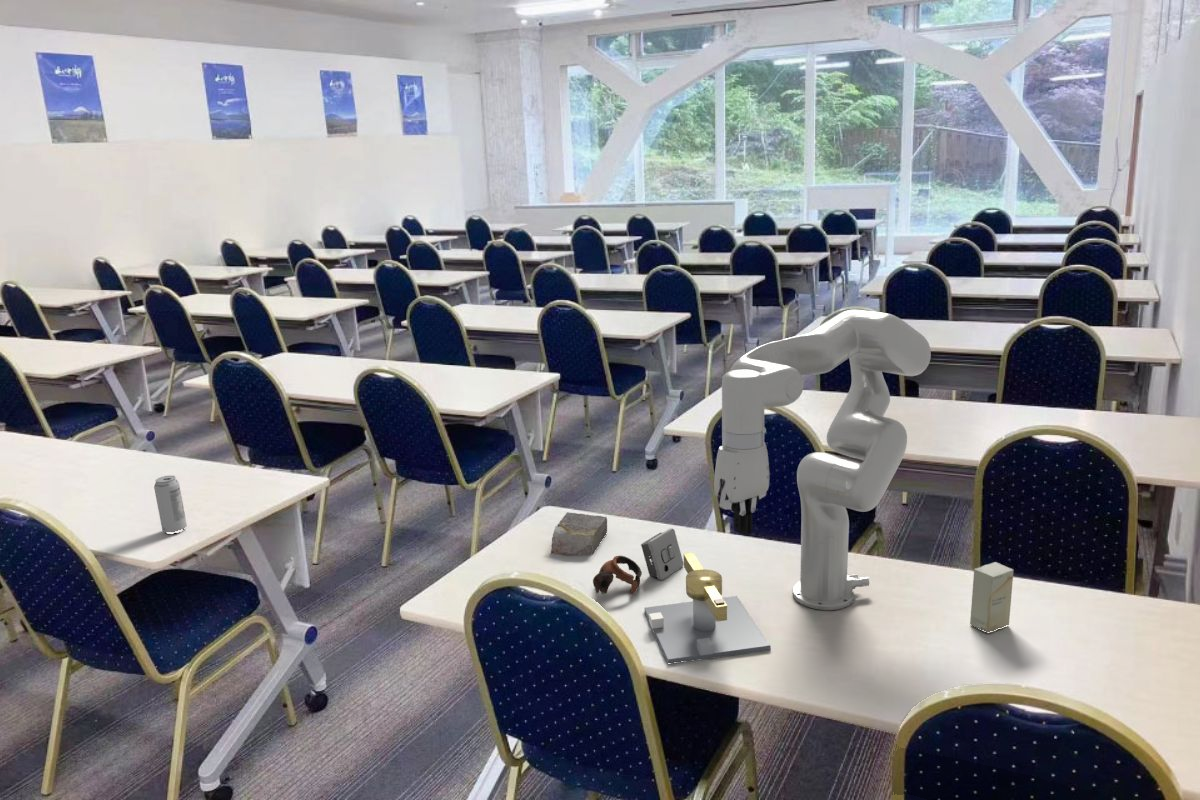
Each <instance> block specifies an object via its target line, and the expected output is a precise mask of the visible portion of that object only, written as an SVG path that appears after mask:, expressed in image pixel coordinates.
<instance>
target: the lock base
mask: <svg viewBox="0 0 1200 800" xmlns="http://www.w3.org/2000/svg"><path fill="white" fill-rule="evenodd" d="M722 599H723V600H724V602H725V603H726V605H727V620H725V621H718V622H717V621H716V620H715V618H714V616H713V615H712V613H711V611H710V610H709V608H708V606H707V605H706V603H705V601H698V600H694V599H692V601H686V602H680V603H679V602H678V603H670V604H662V605H655V606H654V605H653V606H648V607H647V606H646V607H644V614H645V616H646V618H647V620H648V623H649V625H650V627H651V629H652V632H653V631H654V632H653V634H654V636H655V638H656V641H657V640H658V641H657V642H659V643H658V645H659V647H660V650H661V651H663V652H662V654H663V653H664V654H663V656H664V655H665V656H664V658H665V661H666V660H667V661H666V663H667V662H668V663H673V664H675V663H674V662H680V663H682V662H681V661H687V662H693V661H692V660H694V661H700V660H699V659H702V660H707V659H715V658H716V659H717V658H722V657H729V656H731V657H732V656H736V655H737V656H739V655H744V654H752V653H759V652H766V650H767V651H771V649H772V647H771V644H770V642H769V641H768V639H767V637H766V636H764V633H763V632H762V631H761V629H760V628H759V626H758V625H757V623H756V622H755V620H754V619H753V617H752V616H751V614H750V613H749V612H748V610H747V608H746V607H745V606H744V604H743V603H742V601H741V600H740V598H739V597H738V595H733V596H725V597H722ZM714 657H715V658H714ZM668 663H667V664H668Z"/></svg>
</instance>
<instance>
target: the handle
mask: <svg viewBox="0 0 1200 800" xmlns="http://www.w3.org/2000/svg"><path fill="white" fill-rule="evenodd" d="M683 568H684V570H685V571H686V573H687V574H686V576H685V590H686V591H685V593H686V595H687V597H688V598H690V599H691V600H693V599H694V600H698V601H705V603H706V605H707V606H708V608H709V610H710V611H711V613H712V615H713V616H714V618H715V620H716V621H717V622H718V621H725V620H727V605H726V603H725V602H724V600H723V599H722V598H723V597H722V595H723V577H722V574H720V573H719V571H718V572H717V571H716V570H712V569H705V568H704V567H703V566H702V564H701V563H700V561H699V560H698V558H697V557H696V555H695V553H694V552H689V553H683Z"/></svg>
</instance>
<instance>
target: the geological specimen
mask: <svg viewBox="0 0 1200 800" xmlns="http://www.w3.org/2000/svg"><path fill="white" fill-rule="evenodd" d="M606 533H607V534H608V518H607V516H601V515H592V514H585V513H577V512H566V513H565V514H564V516H563V517H562V518H561V520H559V522H558V523H557V525H555V527H554V530H553V533H552V536H551V537H552V538H551V546H550V548H551V549H550V554H553V555H558V556H560V555H563V556H566V557H568V556H576V557H577V556H583V555H584V556H586V555H588V556H589V554H590V555H594V554H595V552H596V551H597V549H598V548H599V546H600V545H601V543H602V542H603V540H604V539H605V537H606V536H607V534H606ZM605 535H606V536H605ZM604 536H605V537H604ZM603 538H604V539H603ZM602 539H603V540H602ZM601 541H602V542H601ZM600 542H601V543H600ZM599 544H600V545H599ZM597 547H598V548H597ZM595 550H596V551H595Z"/></svg>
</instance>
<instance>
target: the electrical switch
mask: <svg viewBox="0 0 1200 800" xmlns="http://www.w3.org/2000/svg"><path fill="white" fill-rule="evenodd" d="M640 546H641V550H642V553H643V556H644V560H645V563H646V564H645V565H646V568H647V570H648V575H649V577H655V578H656V579H657V580H658V581H663V580H665V579H667V578H668V577H669V576H671V575H672V574H674V573H675V572H677V571H678V570H680V569H681V568H684V558H683V556H682V552H681V549H680V545H679V542H678V538H677V534H676V530H675V529H674V528H670V527H669V528H667V529H666V530H664V531H663V532H659V533H656V535H654V536H652V537H651V538H649V539H648V540H644V542H642V543H641V544H640Z"/></svg>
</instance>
